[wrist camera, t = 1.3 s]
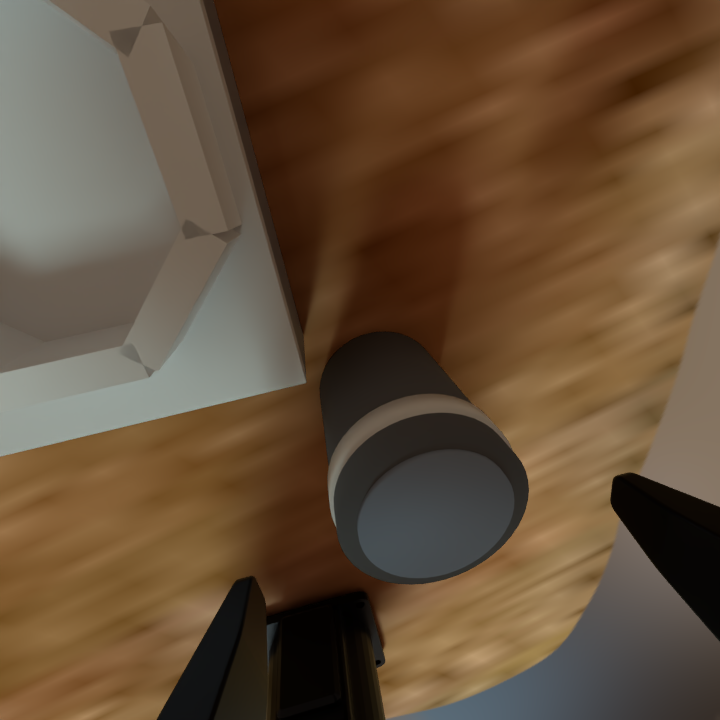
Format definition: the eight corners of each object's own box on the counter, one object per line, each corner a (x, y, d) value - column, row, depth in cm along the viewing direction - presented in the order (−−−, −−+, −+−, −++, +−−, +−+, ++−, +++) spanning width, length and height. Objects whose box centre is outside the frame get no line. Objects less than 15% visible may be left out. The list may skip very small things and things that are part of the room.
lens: (443, 423, 17) (535, 563, 11) (332, 452, 17) (355, 614, 10) (431, 316, 15) (538, 407, 8) (303, 346, 15) (309, 466, 8)
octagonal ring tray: (303, 336, 14) (308, 420, 9) (62, 392, 14) (-90, 518, 8) (185, -104, 9) (35, -518, 4) (-200, -47, 9) (-1001, -445, 3)
